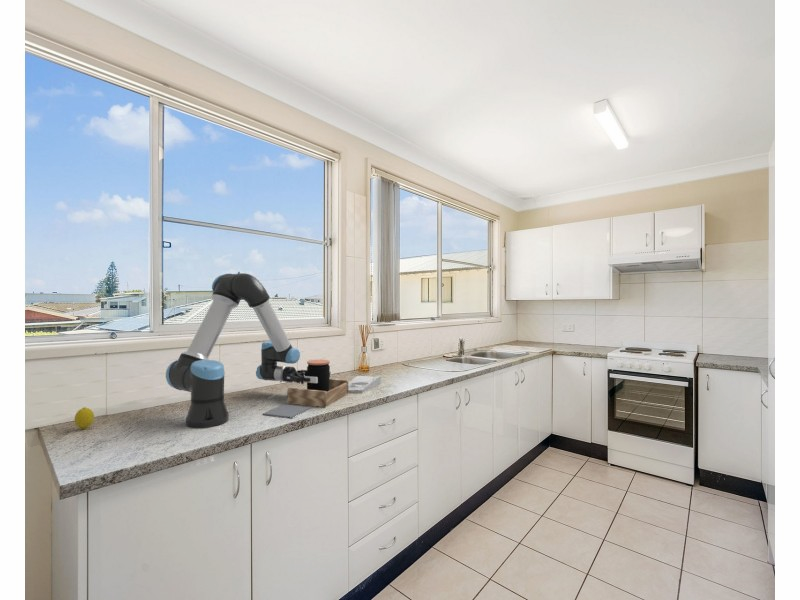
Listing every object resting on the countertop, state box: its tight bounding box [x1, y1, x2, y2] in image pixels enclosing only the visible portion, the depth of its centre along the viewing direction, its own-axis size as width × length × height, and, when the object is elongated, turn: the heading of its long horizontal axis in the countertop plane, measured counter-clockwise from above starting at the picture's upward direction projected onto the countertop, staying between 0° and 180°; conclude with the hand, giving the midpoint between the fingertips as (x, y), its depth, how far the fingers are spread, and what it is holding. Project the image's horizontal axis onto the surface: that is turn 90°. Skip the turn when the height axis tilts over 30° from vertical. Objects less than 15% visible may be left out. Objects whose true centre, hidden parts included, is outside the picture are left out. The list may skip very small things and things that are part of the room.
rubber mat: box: [262, 403, 311, 419], centre depth 164 cm, size 14×14×1 cm
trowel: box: [348, 375, 382, 394], centre depth 206 cm, size 28×16×5 cm, turn 138°
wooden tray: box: [287, 378, 349, 408], centre depth 185 cm, size 19×24×7 cm
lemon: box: [74, 406, 95, 430], centre depth 141 cm, size 6×6×8 cm
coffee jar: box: [306, 359, 331, 392], centre depth 185 cm, size 11×11×18 cm
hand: (324, 377), depth 184 cm, fingers open, 13 cm apart
